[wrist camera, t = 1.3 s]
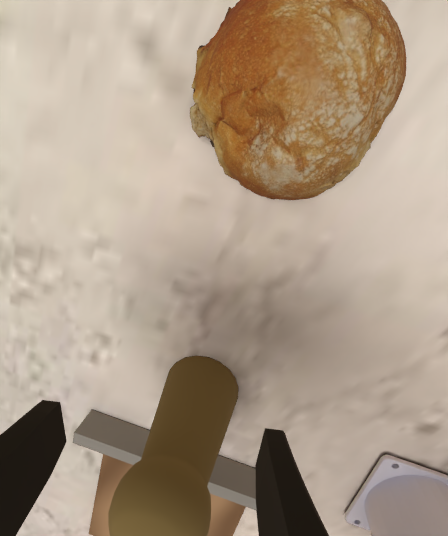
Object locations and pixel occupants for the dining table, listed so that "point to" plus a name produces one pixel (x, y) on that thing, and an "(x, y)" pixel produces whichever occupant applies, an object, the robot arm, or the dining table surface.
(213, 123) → the bread roll
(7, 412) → the dining table surface
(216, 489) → the low wall
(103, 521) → the walnut board
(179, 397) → the cork
